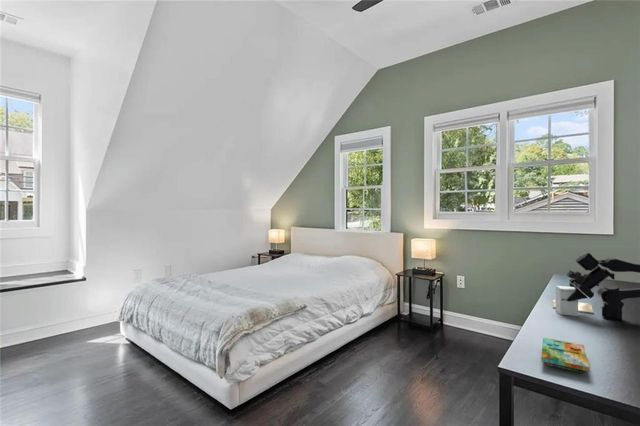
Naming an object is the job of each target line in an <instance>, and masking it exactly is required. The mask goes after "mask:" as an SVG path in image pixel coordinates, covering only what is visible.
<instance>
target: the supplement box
mask: <svg viewBox="0 0 640 426" xmlns="http://www.w3.org/2000/svg"><path fill="white" fill-rule="evenodd" d="M574 292H575V288H574V287H570V286H566V285H565V286H564V285H555V300H556V309H555V312H557V313H558V314H559V315H560V316H562V315H563V316H564V315H565V316H572V317H579V312H578V302H579V300H574V301H567V299H568V298H569V297H570V296H571V295H572V294H573V293H574Z"/></svg>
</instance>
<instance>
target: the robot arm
mask: <svg viewBox="0 0 640 426" xmlns="http://www.w3.org/2000/svg"><path fill="white" fill-rule="evenodd" d="M575 263H576V264H578V265H579V266H580V267H581V268H582V269H584V270H585V271H590V272H589V273H587V274H586V273H584V274H582V273H581V272H580V271H578V270H577V271H573V270H571V269H569V271H568V272H567V273H566V276H567V277H569V278H571V279H569V281H568V284H569V285H568V287H574V288H575V292H574V293H573V294H572V295H571V296H570V297H569V298H568V299H567V301H574V300H578V301H579V300H584V299H592V298H594V296H595V293H594V292H593V291H592V289H594V288H596V287H599V286H600V284H601V283H602V282H604V281H605V280H606V279H608V278H609V279H611V280H613V281H614V280H615V274H616V273H628V272H630V273H632V272H633V273H639V274H640V263H633V262H628V261H625V260H621V259H618V258H616V257H615V258H614V257H607V258H605V259H596V257H594V256H593V255H592V254H591V253H590V252H586V253H585V254H582V255H581V256H579V257H578V258H576V259H575ZM602 267H603V268H602ZM610 271H611V272H610ZM613 272H615V273H613ZM596 294H597V296H598V298H599V299H601V300H602V302H603V303H602V304H603V305H601V316H602V317H603V319H604V320H605V319H606V320H611V321H612V320H613V321H619V322H623V321H624V319H623V308H624V305H625V303H624V302H623V301H624V300H626V299H638V298H640V287H632V288H631V287H630V288H620V287H618V286H616V285H615V284H614V285H608V286H605V285H603V287H600V288H599V289H598V290H597V291H596Z"/></svg>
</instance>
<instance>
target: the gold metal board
mask: <svg viewBox="0 0 640 426" xmlns="http://www.w3.org/2000/svg"><path fill="white" fill-rule="evenodd" d="M552 309H554V310H556V298H555V299H553V300H552ZM578 313H583V314H589V315H595V314H594V310H593V306H592V303H586V302H579V301H578Z"/></svg>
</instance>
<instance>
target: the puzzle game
mask: <svg viewBox="0 0 640 426" xmlns="http://www.w3.org/2000/svg"><path fill="white" fill-rule="evenodd" d="M541 347H542V349H541V362H543V363H544V364H545V365H546V366H550V367H554V368H559V369H563V370H568V371H574V372H577V373H580V374H583V373H585V372H590V365H589V362H588V356H587V352H586V348H585V345H584V344H579V343H576V342H575V343H574V342H568V341H565V340H559V339H553V338H548V337H542V345H541Z"/></svg>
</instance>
